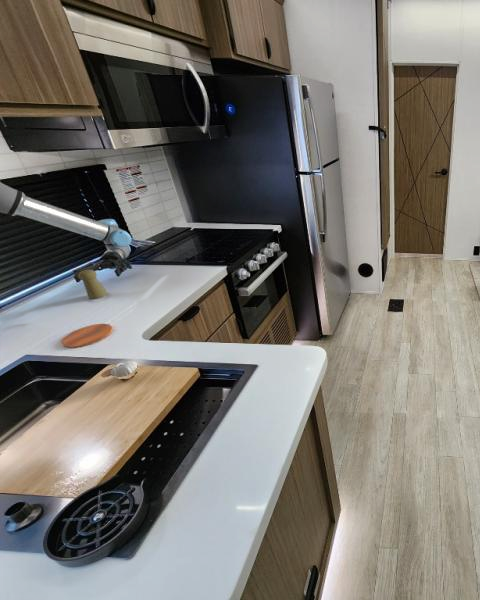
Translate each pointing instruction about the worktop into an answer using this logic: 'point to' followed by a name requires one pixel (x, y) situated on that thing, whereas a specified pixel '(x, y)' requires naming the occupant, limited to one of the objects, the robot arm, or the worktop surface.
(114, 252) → the robot arm
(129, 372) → the garlic
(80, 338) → the coaster
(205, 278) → the worktop surface
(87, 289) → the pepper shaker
